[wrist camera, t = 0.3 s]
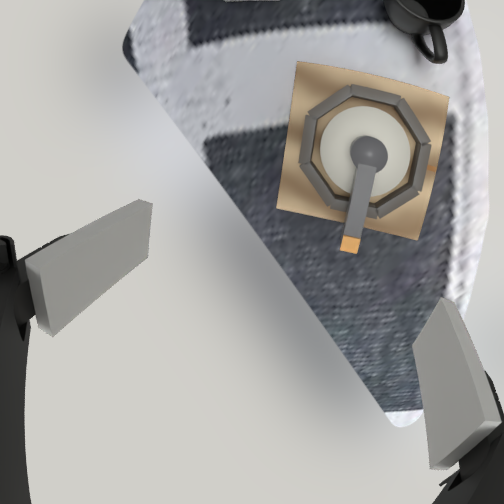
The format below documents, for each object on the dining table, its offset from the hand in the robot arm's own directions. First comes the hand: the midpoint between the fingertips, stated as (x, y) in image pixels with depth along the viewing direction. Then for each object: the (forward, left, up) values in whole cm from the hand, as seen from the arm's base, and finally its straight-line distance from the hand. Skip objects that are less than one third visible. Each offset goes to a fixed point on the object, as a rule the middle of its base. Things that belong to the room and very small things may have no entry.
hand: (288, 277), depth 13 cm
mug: (-21, +8, -28) cm, 36 cm away
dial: (-1, +4, -25) cm, 25 cm away
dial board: (-4, +4, -27) cm, 28 cm away
